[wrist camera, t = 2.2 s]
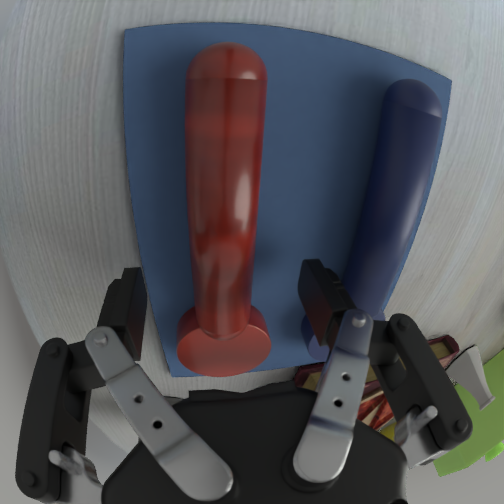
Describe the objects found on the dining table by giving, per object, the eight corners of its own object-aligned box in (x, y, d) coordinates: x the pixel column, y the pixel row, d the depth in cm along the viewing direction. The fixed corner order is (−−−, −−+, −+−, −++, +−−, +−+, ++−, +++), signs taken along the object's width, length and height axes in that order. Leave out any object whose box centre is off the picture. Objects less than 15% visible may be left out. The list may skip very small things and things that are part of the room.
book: (355, 429, 42) (363, 451, 38) (243, 453, 37) (249, 480, 33) (448, 330, 27) (469, 360, 23) (290, 363, 22) (308, 416, 18)
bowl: (400, 422, 48) (410, 443, 43) (357, 439, 46) (366, 462, 41) (424, 400, 42) (436, 424, 37) (377, 420, 40) (388, 447, 35)
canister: (508, 344, 43) (548, 411, 24) (481, 380, 55) (511, 436, 36) (434, 398, 44) (472, 481, 25) (416, 423, 56) (443, 487, 38)
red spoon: (152, 49, 8) (137, 40, 6) (295, 52, 9) (322, 46, 7) (182, 357, 18) (183, 392, 16) (261, 351, 19) (269, 385, 17)
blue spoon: (348, 62, 10) (384, 63, 7) (436, 92, 10) (474, 102, 8) (294, 348, 20) (304, 379, 17) (360, 336, 21) (374, 364, 18)
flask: (437, 375, 34) (463, 423, 26) (467, 345, 31) (498, 394, 23) (455, 370, 37) (479, 412, 29) (482, 343, 33) (510, 385, 25)
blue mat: (127, 31, 8) (124, 29, 7) (447, 79, 10) (452, 80, 10) (171, 373, 20) (171, 377, 20) (360, 350, 23) (361, 353, 22)
